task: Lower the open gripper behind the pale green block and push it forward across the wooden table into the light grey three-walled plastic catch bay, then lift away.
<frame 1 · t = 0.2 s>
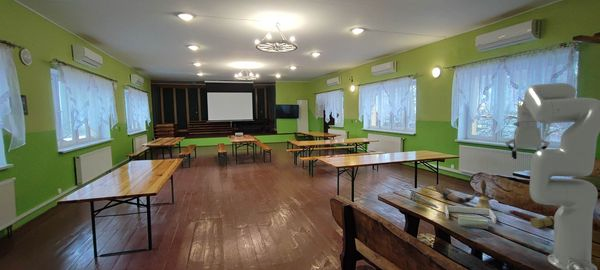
hand: (526, 158, 136), 31 cm above the table, tool pointing down, fingers open, 9 cm apart
pale green block: (472, 225, 135), on the table
catch bay: (468, 216, 145), on the table
caliper: (423, 203, 169), on the table
gavel: (527, 220, 138), on the table
antique flintlock pistol: (455, 201, 169), on the table
hand bell: (483, 207, 157), on the table
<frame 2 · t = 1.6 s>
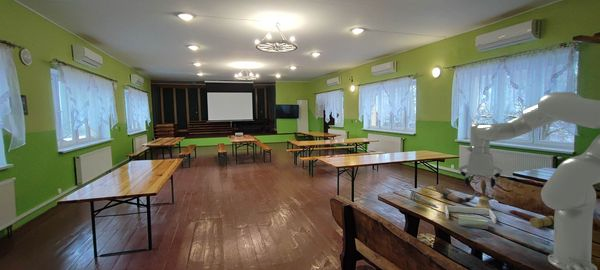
hand: (479, 186, 127), 21 cm above the table, tool pointing down, fingers open, 9 cm apart
nothing on the table moved.
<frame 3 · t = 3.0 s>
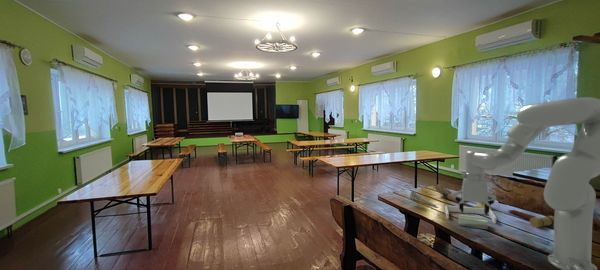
hand: (473, 212, 128), 9 cm above the table, tool pointing down, fingers open, 9 cm apart
nothing on the table moved.
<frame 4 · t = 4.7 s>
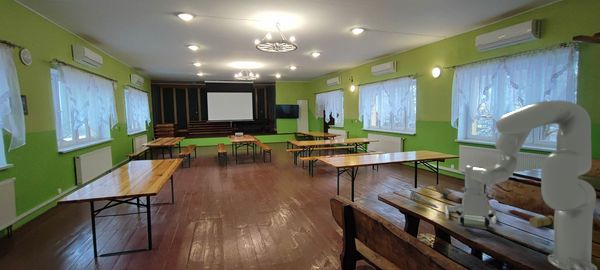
hand: (474, 225, 130), 2 cm above the table, tool pointing down, fingers open, 9 cm apart
nothing on the table moved.
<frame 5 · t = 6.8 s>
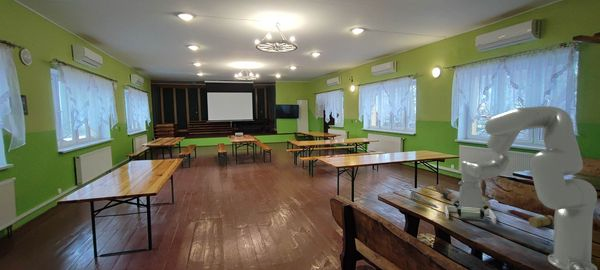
hand: (470, 216, 140), 2 cm above the table, tool pointing down, fingers open, 9 cm apart
pale green block: (470, 218, 144), on the table
everything else where it was.
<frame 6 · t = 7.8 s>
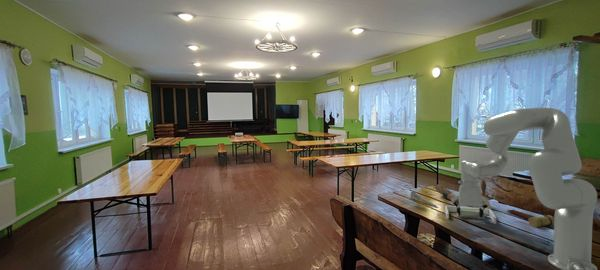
hand: (469, 215, 142), 2 cm above the table, tool pointing down, fingers open, 9 cm apart
pale green block: (470, 216, 145), on the table
everything else where it was.
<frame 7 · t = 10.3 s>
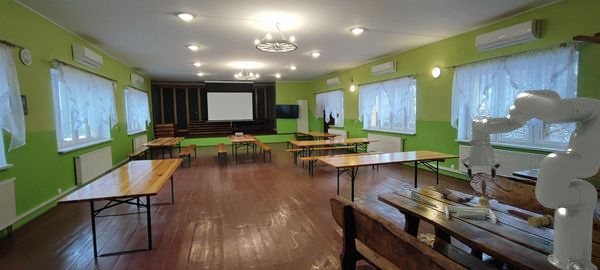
hand: (481, 176, 137), 23 cm above the table, tool pointing down, fingers open, 9 cm apart
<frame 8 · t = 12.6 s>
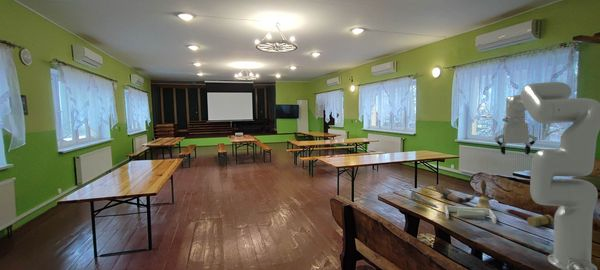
hand: (515, 154, 138), 33 cm above the table, tool pointing down, fingers open, 9 cm apart
at the end: pale green block inside the target area on the catch bay (0.8 cm from its centre), point 0.0 cm above the catch bay's base; pale green block tilted 0° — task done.
